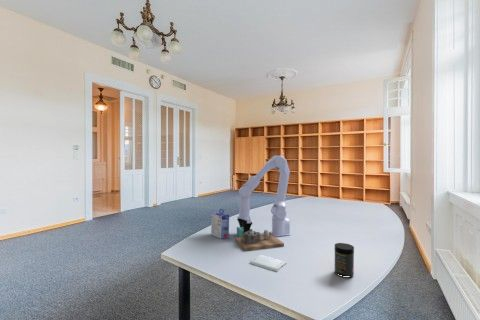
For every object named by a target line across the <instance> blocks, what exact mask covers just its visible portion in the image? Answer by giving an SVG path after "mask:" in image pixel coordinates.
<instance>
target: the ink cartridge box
mask: <svg viewBox="0 0 480 320" xmlns="http://www.w3.org/2000/svg"><path fill="white" fill-rule="evenodd" d="M224 212H225V209H223V208H219V211H218V212H211V220H210V221H211V223H210V224H211V226H210V230H211V231H210V232H211V233H210V235H211V236H214V237H216V238H218V239H221V240H222V239H226V238H229V237H230V235H229V234H230V214H228V213H224Z"/></svg>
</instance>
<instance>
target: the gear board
mask: <svg viewBox="0 0 480 320" xmlns="http://www.w3.org/2000/svg"><path fill="white" fill-rule="evenodd" d="M269 232H270V230H268V229H264V232H263V234H260V232H259V231H256V230H253V231H247V232H244V237H240V236H238V237H235V242H236V243H237V244H238V245H239V246H240V247H241V248H242V249H243V251H245V252H250V251H258V250H267V249H274V248H283V247H285V242H284V241H282V240H280V239H278V237H275V236H274V235H272V234H271V233H269Z"/></svg>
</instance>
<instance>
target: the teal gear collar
mask: <svg viewBox="0 0 480 320" xmlns="http://www.w3.org/2000/svg"><path fill="white" fill-rule="evenodd" d="M249 231H254V230H253V228H250V230H249ZM236 235H238V237H244V228H243V227H240V226H237V227H236Z"/></svg>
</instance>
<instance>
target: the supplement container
mask: <svg viewBox="0 0 480 320" xmlns="http://www.w3.org/2000/svg"><path fill="white" fill-rule="evenodd" d="M333 265H334V268H333V270H334V273H335V272H336V273H337V274H339V275H342V276H352V277H353V276H354V274H355V273H354V272H355V271H354V270H355V247H354V246H353V245H352V244H349V243H344V242H337V243H335V244H334V264H333ZM336 273H335V274H336ZM337 274H336V275H337ZM339 275H338V276H339Z"/></svg>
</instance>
